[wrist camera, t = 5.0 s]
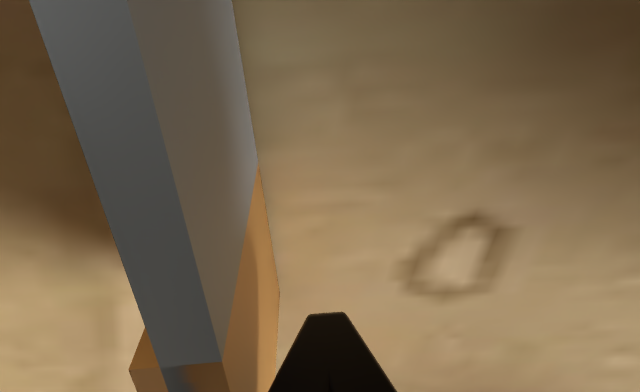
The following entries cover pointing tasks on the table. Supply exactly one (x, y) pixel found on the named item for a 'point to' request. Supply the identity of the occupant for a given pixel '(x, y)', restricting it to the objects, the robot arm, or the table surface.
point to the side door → (174, 182)
